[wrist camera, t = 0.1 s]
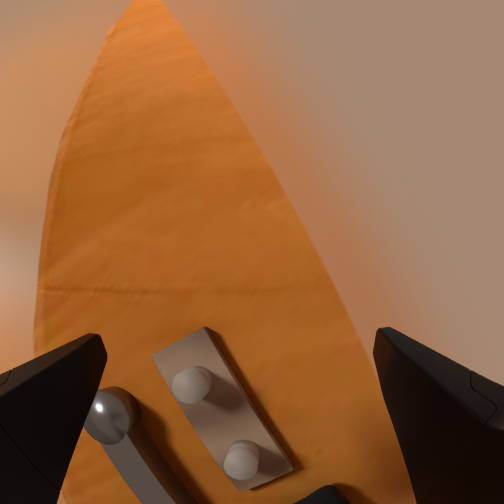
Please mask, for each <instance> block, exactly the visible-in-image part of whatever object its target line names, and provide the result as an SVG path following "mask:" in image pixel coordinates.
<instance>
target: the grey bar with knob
mask: <svg viewBox="0 0 504 504" xmlns="http://www.w3.org/2000/svg"><path fill="white" fill-rule="evenodd" d="M84 428H85V430H86V431H87V432H88V433H89V435H90V436H92V437H93V438H94V439H95V440H97V441H98V442H100V444H101V445H102V447H103V449H104V450H105V452H106V453H107V455H108V456H109V458H110V460H111V461H112V463H113V464H114V466H115V467H116V469H117V470H118V472H119V473H120V474H121V476H122V477H123V479H124V480H125V482H126V483H127V484H128V486H129V487H130V488H131V490H132V491H133V492H134V494H135V495H136V496H137V498H138V499H139V500H140V501H141V503H142V504H198V503H197V502H196V501H195V500H194V499H193V497H192V496H191V495H190V494H189V492H188V491H187V490H186V488H185V487H184V486H183V485H182V483H181V482H180V481H179V479H178V478H177V477H176V475H175V474H174V473H173V471H172V470H171V468H170V467H169V466H168V464H167V463H166V461H165V460H164V458H163V457H162V456H161V454H160V453H159V451H158V450H157V448H156V447H155V445H154V443H153V442H152V440H151V439H150V437H149V436H148V434H147V432H146V431H145V429H144V428H143V426H142V424H141V411H140V408H139V405H138V403H137V402H136V400H135V399H134V397H133V396H132V395H131V394H130V393H129V392H127V391H126V390H124V389H122V388H119V387H114V386H112V387H107V388H104V389H100V390H98V391H97V394H96V396H95V399H94V401H93V404H92V406H91V409H90V411H89V413H88V416H87V418H86V421H85V423H84Z"/></svg>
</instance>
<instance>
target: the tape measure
mask: <svg viewBox="0 0 504 504" xmlns="http://www.w3.org/2000/svg"><path fill="white" fill-rule="evenodd" d="M294 504H351V503H350V502H349V501H348V500H347V499H345V498H344V497H342V496H341V494H340V492H339V491H338V489H337V488H336V487H334V486H331V485H326V486H324V487H322V488H320V489H318V490H316V491H315V492H313V493H312V494H310V495H309V496H307V497H306V498H304V499H302V500H300V501H298V502H296V503H294Z"/></svg>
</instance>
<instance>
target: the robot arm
mask: <svg viewBox="0 0 504 504" xmlns="http://www.w3.org/2000/svg"><path fill="white" fill-rule="evenodd" d="M373 357H374V361H375V365H376V369H377V373H378V377H379V382H380V386H381V390H382V394H383V397H384V401H385V403H386V406H387V409H388V412H389V415H390V418H391V421H392V423H393V426H394V429H395V432H396V435H397V438H398V441H399V444H400V448H401V451H402V454H403V457H404V460H405V464H406V467H407V470H408V473H409V477H410V480H411V484H412V487H413V491H414V494H415V498H416V502H417V504H504V386H502V385H500V384H498V383H496V382H493V381H491V380H489V379H487V378H485V377H483V376H481V375H479V374H477V373H476V372H474V371H472V370H471V371H470V370H469V369H468V368H466V367H464V366H462V365H460V364H459V363H456V362H455V361H453V360H451V359H449V358H447V357H446V356H443V355H442V354H440V353H438V352H436V351H434V350H432V349H431V348H429V347H427V346H425V345H423V344H421V343H419V342H417V341H416V340H413V339H412V338H410V337H408V336H406V335H404V334H402V333H401V332H399V331H397V330H395V329H393V328H391V327H384V328H379V329H378V330H377V332H376V337H375V343H374V349H373ZM106 362H107V352H106V349H105V347H104V344H103V341H102V338H101V336H100V335H99V334H92V333H88V334H86V335H84V336H82V337H80V338H78V339H75V340H73V341H71V342H69V343H67V344H65V345H63V346H60V347H58V348H56V349H54V350H52V351H50V352H48V353H46V354H43V355H41V356H39V357H37V358H35V359H33V360H31V361H28V362H26V363H24V364H22V365H20V366H18V367H16V368H13V369H12V370H9V371H7V372H5V373H2V374H0V504H57V500H58V498H59V494H60V490H61V487H62V484H63V481H64V478H65V475H66V472H67V469H68V466H69V464H70V461H71V458H72V455H73V452H74V450H75V447H76V444H77V442H78V439H79V436H80V434H81V431H82V429H83V426H84V423H85V421H86V418H87V416H88V413H89V411H90V409H91V406H92V404H93V401H94V399H95V396H96V394H97V391H98V388H99V384H100V381H101V378H102V375H103V371H104V368H105V365H106Z"/></svg>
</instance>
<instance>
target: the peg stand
mask: <svg viewBox="0 0 504 504" xmlns="http://www.w3.org/2000/svg"><path fill="white" fill-rule="evenodd" d="M152 357H153V359H154V361H155V363H156V365H157V367H158V369H159V370H160V372H161V374H162V376H163V378H164V379H165V381H166V383H167V385H168V387H169V388H170V390H171V392H172V393H173V395H174V397H175V399H176V400H177V402H178V404H179V405H180V407H181V409H182V410H183V412H184V414H185V415H186V417H187V418H188V420H189V421H190V423H191V425H192V426H193V428H194V429H195V431H196V432H197V434H198V435H199V437H200V438H201V440H202V441H203V443H204V444H205V446H206V447H207V449H208V450H209V452H210V453H211V454H212V456H213V457H214V459H215V460H216V462H217V463H218V464H219V466H220V467H221V468H222V470H223V471H224V472H225V474H226V475H227V476H228V478H229V479H230V480H231V482H232V483H233V484H234V486H235V487H236V488H237V489H238V491H239V492H243V491H245V490H248V489H251V488H253V487H256V486H258V485H261V484H263V483H266V482H268V481H270V480H273V479H275V478H277V477H280V476H282V475H284V474H286V473H288V472H291V471H293V470H294V468H293V463H292V462H291V461H290V459H289V458H288V456H287V455H286V453H285V452H284V451H283V449H282V448H281V446H280V445H279V443H278V442H277V440H276V439H275V437H274V436H273V434H272V433H271V431H270V430H269V428H268V427H267V425H266V424H265V422H264V421H263V419H262V418H261V416H260V415H259V413H258V412H257V410H256V408H255V407H254V405H253V404H252V402H251V401H250V399H249V397H248V396H247V394H246V393H245V391H244V389H243V388H242V386H241V385H240V383H239V381H238V380H237V378H236V376H235V375H234V373H233V371H232V370H231V368H230V366H229V365H228V363H227V361H226V360H225V358H224V356H223V354H222V353H221V351H220V349H219V347H218V346H217V344H216V342H215V340H214V339H213V337H212V335H211V333H210V332H209V330H208V328H207V327H203V328H201V329H199V330H197V331H195V332H194V333H192V334H190V335H188V336H186V337H184V338H183V339H181V340H179V341H177V342H175V343H173V344H172V345H170V346H168V347H166V348H164V349H162V350H160V351H159V352H157V353H155V354H153V355H152Z"/></svg>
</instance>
